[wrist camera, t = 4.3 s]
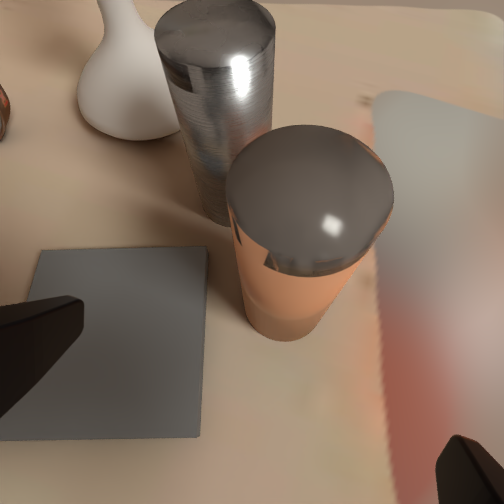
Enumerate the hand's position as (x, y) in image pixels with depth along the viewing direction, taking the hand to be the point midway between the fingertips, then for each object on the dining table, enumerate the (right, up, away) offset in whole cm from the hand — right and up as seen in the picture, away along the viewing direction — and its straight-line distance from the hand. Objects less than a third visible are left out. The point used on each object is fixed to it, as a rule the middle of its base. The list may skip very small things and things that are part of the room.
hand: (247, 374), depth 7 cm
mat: (-8, -2, +12) cm, 15 cm away
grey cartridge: (-1, +7, +16) cm, 18 cm away
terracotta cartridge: (+2, 0, +13) cm, 13 cm away
